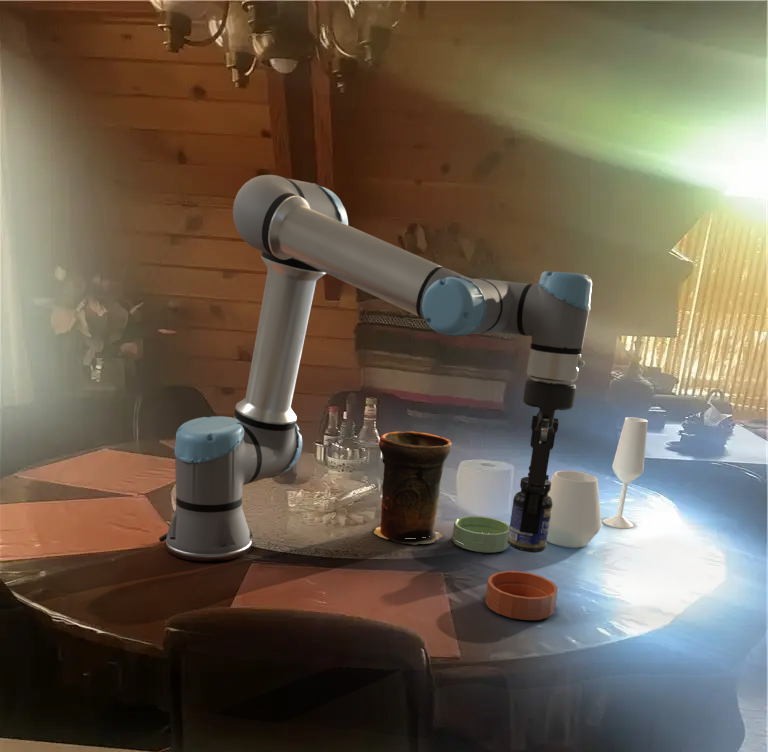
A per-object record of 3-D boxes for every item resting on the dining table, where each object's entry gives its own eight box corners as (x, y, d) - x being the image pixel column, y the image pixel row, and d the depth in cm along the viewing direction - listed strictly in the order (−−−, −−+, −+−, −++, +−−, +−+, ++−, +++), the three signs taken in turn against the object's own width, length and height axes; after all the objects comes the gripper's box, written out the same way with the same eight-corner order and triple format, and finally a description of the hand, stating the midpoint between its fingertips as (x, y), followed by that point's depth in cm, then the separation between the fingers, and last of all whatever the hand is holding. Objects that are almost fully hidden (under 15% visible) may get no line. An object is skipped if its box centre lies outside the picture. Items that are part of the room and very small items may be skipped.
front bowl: (482, 615, 120) (485, 592, 119) (488, 588, 131) (490, 567, 129) (553, 626, 118) (557, 603, 117) (553, 598, 129) (557, 576, 127)
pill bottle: (545, 556, 118) (556, 488, 115) (506, 550, 119) (515, 483, 116) (545, 542, 124) (555, 478, 120) (507, 537, 125) (517, 473, 121)
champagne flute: (631, 530, 168) (650, 424, 161) (600, 524, 171) (618, 419, 163) (635, 522, 174) (654, 419, 167) (605, 516, 177) (623, 415, 169)
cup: (521, 537, 158) (530, 473, 153) (552, 524, 168) (561, 464, 163) (580, 556, 150) (591, 488, 145) (609, 541, 160) (620, 478, 155)
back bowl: (449, 548, 148) (451, 529, 147) (456, 531, 158) (458, 513, 157) (506, 557, 146) (509, 537, 145) (509, 538, 156) (512, 520, 155)
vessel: (422, 520, 164) (431, 429, 158) (454, 542, 152) (465, 445, 146) (361, 524, 158) (368, 430, 152) (389, 548, 146) (398, 447, 140)
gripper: (579, 392, 104) (553, 549, 111) (575, 375, 121) (553, 511, 129) (523, 385, 105) (501, 541, 112) (528, 370, 123) (508, 505, 130)
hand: (529, 525), depth 120 cm, fingers closed on pill bottle, 6 cm apart
